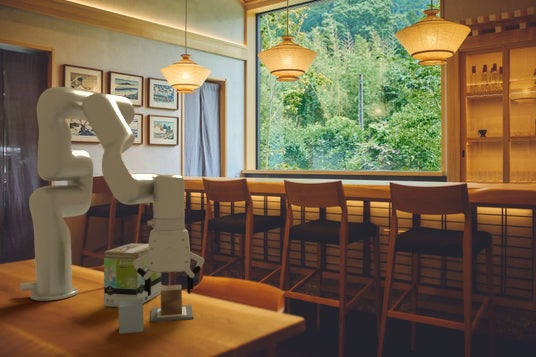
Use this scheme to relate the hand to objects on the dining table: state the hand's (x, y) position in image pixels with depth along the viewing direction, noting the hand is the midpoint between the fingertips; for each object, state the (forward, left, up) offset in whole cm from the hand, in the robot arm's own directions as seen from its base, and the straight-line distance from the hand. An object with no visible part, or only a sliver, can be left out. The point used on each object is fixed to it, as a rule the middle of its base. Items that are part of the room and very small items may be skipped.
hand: (169, 293), depth 119 cm
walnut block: (+1, 0, -5) cm, 5 cm away
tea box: (-9, +16, -5) cm, 19 cm away
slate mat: (+1, 0, -5) cm, 5 cm away
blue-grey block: (-8, -9, -5) cm, 13 cm away
